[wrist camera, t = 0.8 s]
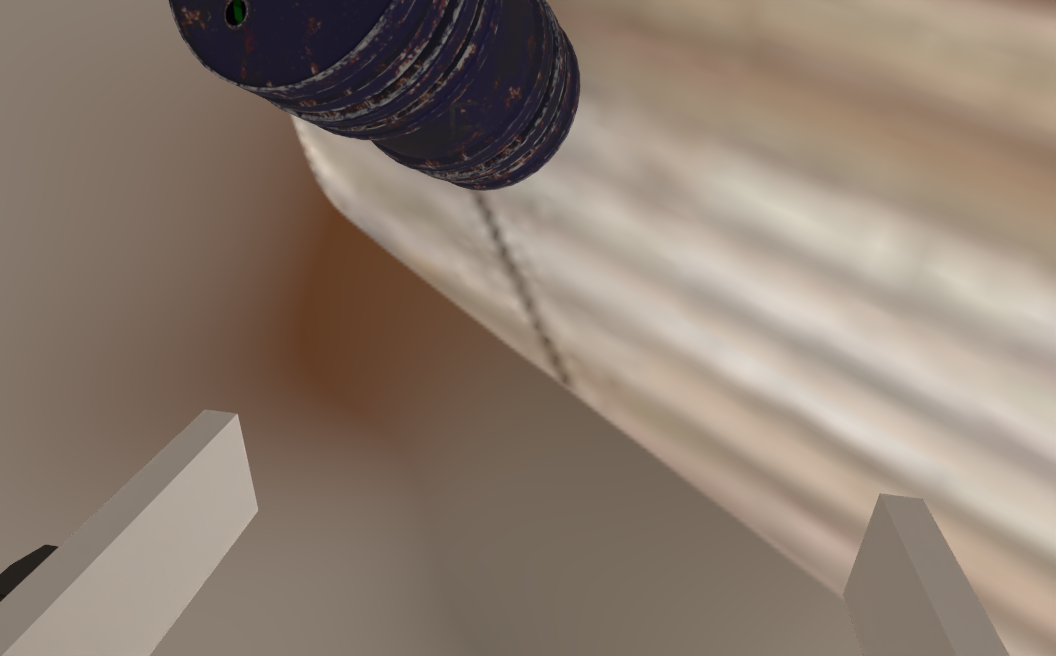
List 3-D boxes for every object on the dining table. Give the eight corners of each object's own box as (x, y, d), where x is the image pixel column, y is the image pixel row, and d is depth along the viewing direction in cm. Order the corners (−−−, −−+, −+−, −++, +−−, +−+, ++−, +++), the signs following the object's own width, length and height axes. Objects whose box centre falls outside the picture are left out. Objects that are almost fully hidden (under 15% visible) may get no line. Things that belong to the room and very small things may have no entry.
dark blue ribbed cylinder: (479, -37, 33) (266, -301, 19) (623, 63, 31) (498, -160, 17) (374, 125, 36) (117, -6, 22) (501, 231, 33) (299, 159, 19)
